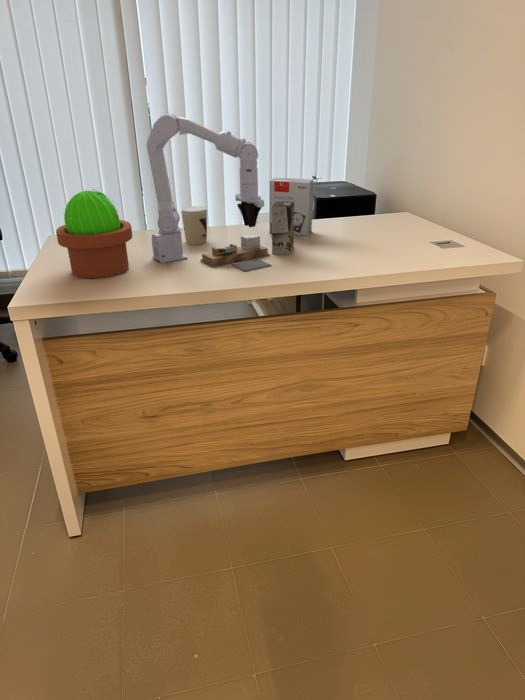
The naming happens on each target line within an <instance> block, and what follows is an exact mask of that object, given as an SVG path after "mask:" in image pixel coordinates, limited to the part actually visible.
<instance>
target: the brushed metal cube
mask: <svg viewBox="0 0 525 700" xmlns="http://www.w3.org/2000/svg"><path fill="white" fill-rule="evenodd" d="M260 245H261V236H260V235H259V234H258V235H257V234H255V233H252V234H251V233H249V234H246V235H240V247H241V248H243V249H245V250H247V251H248V250H253V249H258V248H260Z"/></svg>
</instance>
